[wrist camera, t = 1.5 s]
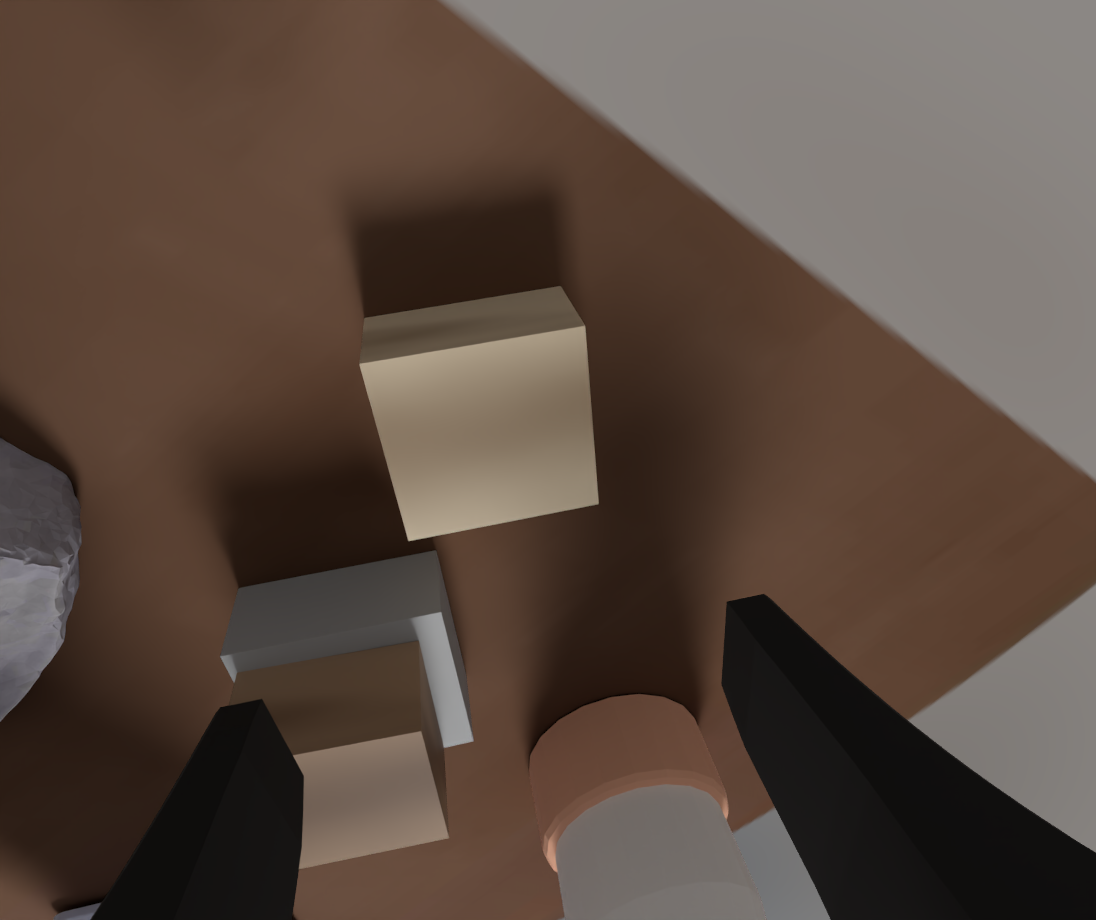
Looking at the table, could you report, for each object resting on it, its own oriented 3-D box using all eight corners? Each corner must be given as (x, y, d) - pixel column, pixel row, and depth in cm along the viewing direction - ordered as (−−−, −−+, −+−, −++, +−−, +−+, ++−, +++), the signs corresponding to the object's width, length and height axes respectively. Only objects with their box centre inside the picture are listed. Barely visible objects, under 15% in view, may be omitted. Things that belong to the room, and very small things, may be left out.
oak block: (574, 445, 21) (598, 504, 18) (406, 476, 20) (408, 541, 18) (558, 283, 18) (584, 325, 15) (365, 314, 17) (359, 363, 15)
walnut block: (443, 746, 22) (448, 838, 20) (285, 777, 22) (270, 874, 19) (419, 640, 20) (420, 730, 17) (237, 672, 19) (212, 770, 17)
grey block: (465, 669, 25) (473, 741, 23) (297, 704, 24) (286, 782, 22) (435, 543, 22) (441, 611, 19) (240, 581, 21) (220, 656, 19)
